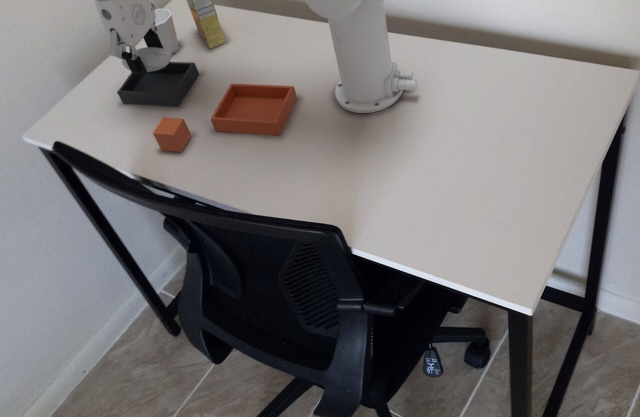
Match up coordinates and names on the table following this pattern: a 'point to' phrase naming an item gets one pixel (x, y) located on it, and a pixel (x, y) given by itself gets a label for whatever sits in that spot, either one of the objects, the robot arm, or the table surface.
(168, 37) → the cup
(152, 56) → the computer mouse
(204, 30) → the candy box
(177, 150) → the terracotta block
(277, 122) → the terracotta bin
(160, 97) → the charcoal bin
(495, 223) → the table surface
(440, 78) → the table surface
